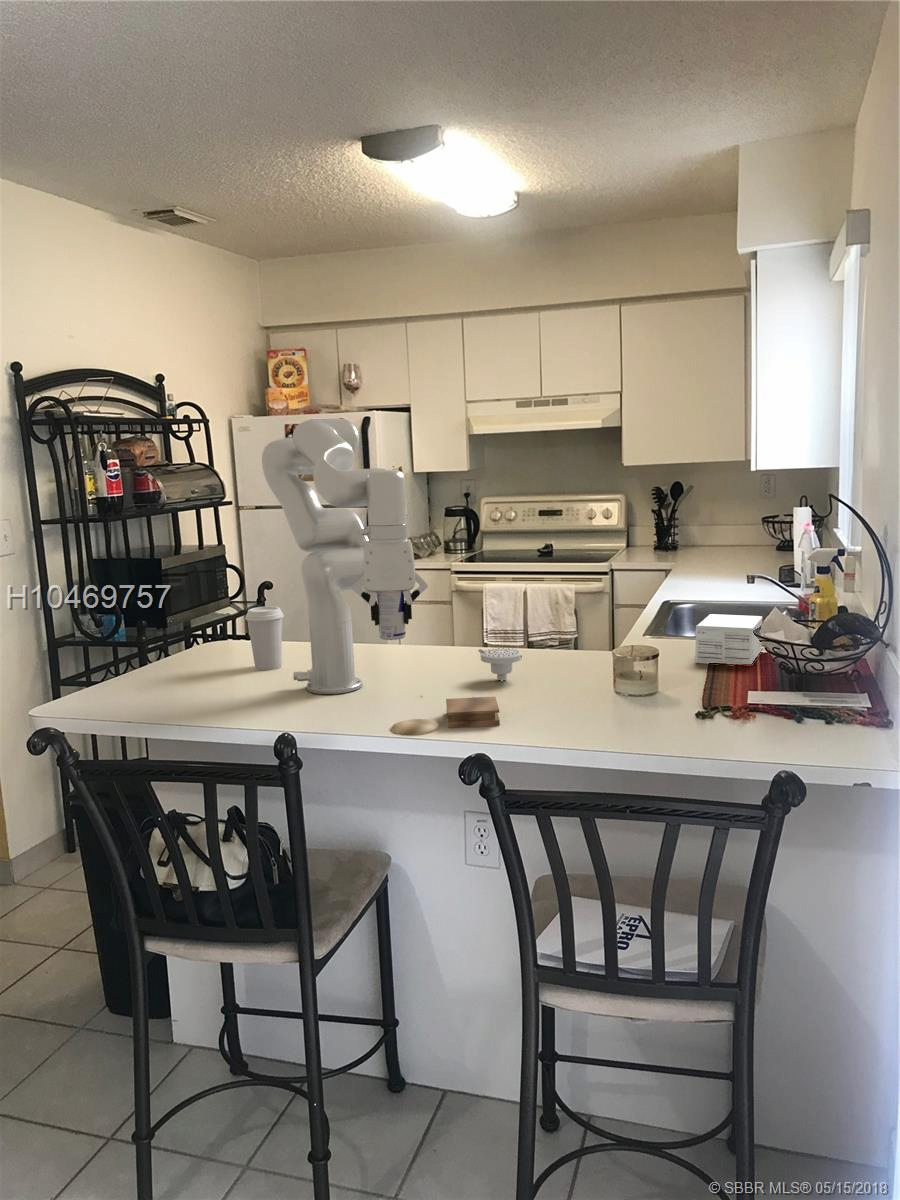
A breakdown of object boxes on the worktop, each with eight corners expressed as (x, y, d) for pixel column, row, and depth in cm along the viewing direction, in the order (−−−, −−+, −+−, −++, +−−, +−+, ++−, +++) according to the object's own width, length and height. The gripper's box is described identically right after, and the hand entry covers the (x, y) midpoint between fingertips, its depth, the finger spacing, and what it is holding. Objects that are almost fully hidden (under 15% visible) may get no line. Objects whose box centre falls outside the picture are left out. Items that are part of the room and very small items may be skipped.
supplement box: (752, 667, 218) (752, 628, 217) (694, 664, 224) (694, 625, 222) (762, 652, 233) (763, 615, 232) (708, 649, 239) (708, 612, 237)
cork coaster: (391, 738, 177) (391, 734, 177) (392, 724, 186) (392, 720, 186) (439, 735, 177) (439, 731, 177) (437, 721, 186) (437, 717, 186)
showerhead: (481, 644, 220) (524, 644, 218) (482, 674, 221) (524, 675, 219) (474, 653, 211) (518, 653, 209) (475, 685, 212) (519, 685, 210)
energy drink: (409, 635, 191) (407, 576, 189) (399, 640, 186) (397, 580, 184) (385, 634, 192) (382, 576, 190) (375, 639, 188) (372, 580, 185)
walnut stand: (447, 727, 181) (447, 712, 180) (446, 713, 191) (446, 698, 190) (499, 725, 181) (499, 710, 181) (495, 710, 191) (495, 696, 190)
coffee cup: (295, 665, 240) (291, 607, 237) (269, 673, 232) (264, 613, 229) (267, 661, 245) (263, 604, 242) (241, 669, 237) (236, 611, 234)
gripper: (342, 537, 182) (347, 629, 185) (431, 533, 182) (434, 625, 185) (345, 533, 189) (350, 621, 192) (431, 530, 189) (434, 618, 193)
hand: (391, 622), depth 189 cm, fingers closed on energy drink, 5 cm apart
